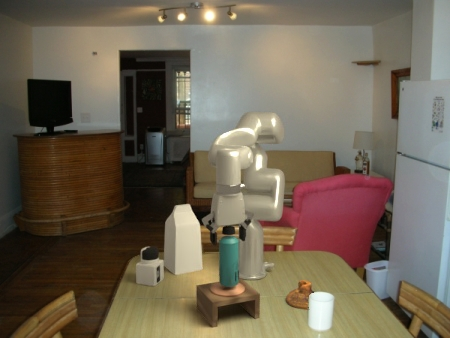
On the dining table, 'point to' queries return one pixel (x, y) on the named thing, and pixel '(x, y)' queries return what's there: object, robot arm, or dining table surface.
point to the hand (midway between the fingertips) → (228, 241)
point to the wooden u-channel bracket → (226, 299)
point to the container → (149, 267)
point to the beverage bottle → (228, 258)
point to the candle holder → (300, 295)
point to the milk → (182, 241)
